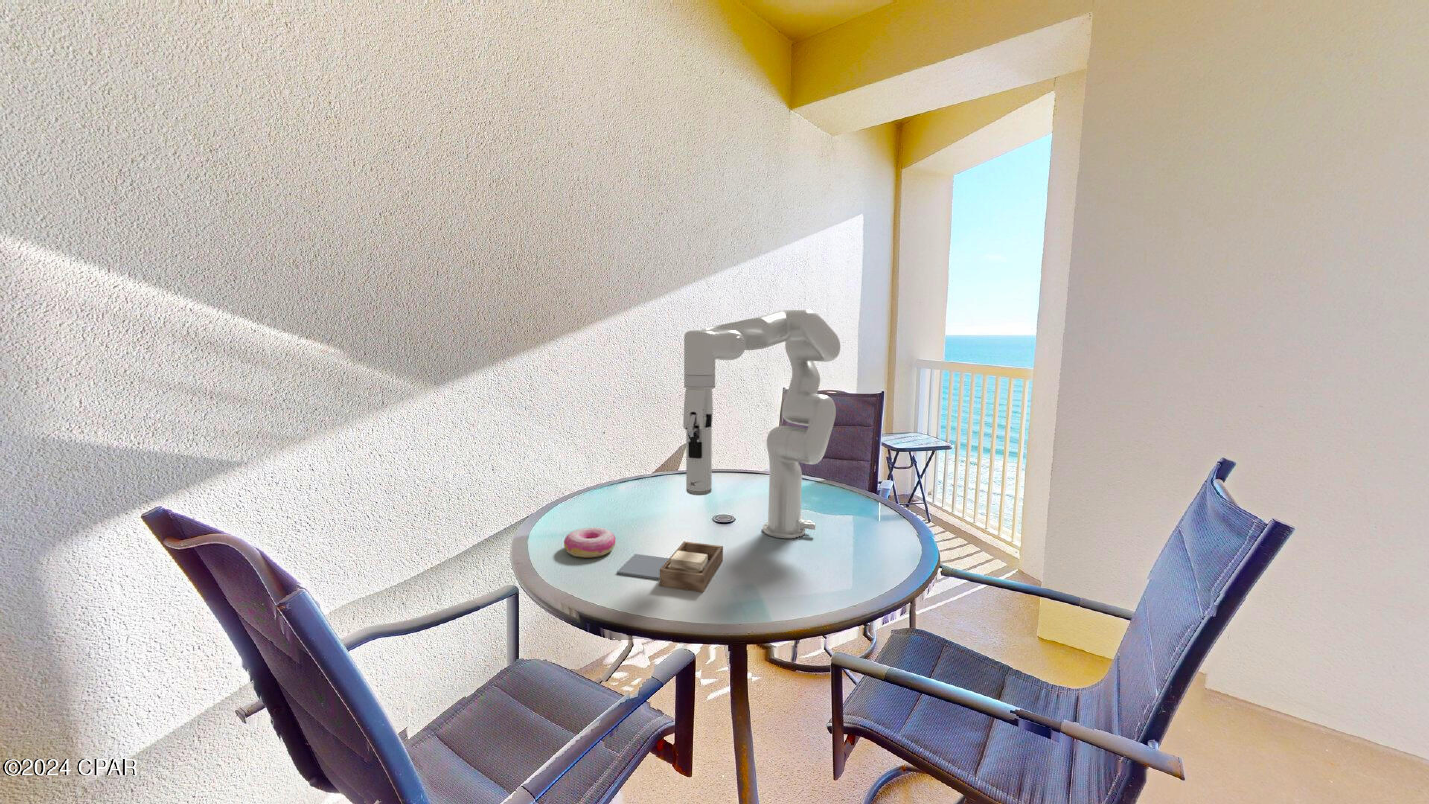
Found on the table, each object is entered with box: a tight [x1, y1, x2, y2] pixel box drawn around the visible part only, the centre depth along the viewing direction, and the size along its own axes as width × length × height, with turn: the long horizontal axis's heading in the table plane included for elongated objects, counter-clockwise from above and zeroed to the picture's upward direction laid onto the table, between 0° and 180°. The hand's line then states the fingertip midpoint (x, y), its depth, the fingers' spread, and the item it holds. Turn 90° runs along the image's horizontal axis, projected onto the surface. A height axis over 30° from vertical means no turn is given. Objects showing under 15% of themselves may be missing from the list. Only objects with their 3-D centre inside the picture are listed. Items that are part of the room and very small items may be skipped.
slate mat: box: [616, 553, 670, 581], centre depth 134 cm, size 11×11×1 cm
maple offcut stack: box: [668, 551, 709, 573], centre depth 127 cm, size 8×5×6 cm, turn 75°
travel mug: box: [685, 414, 713, 496], centre depth 132 cm, size 6×7×20 cm
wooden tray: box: [659, 541, 724, 593], centre depth 131 cm, size 11×18×4 cm, turn 165°
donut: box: [563, 527, 616, 559], centre depth 144 cm, size 14×13×5 cm
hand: (699, 454), depth 132 cm, fingers closed on travel mug, 6 cm apart
